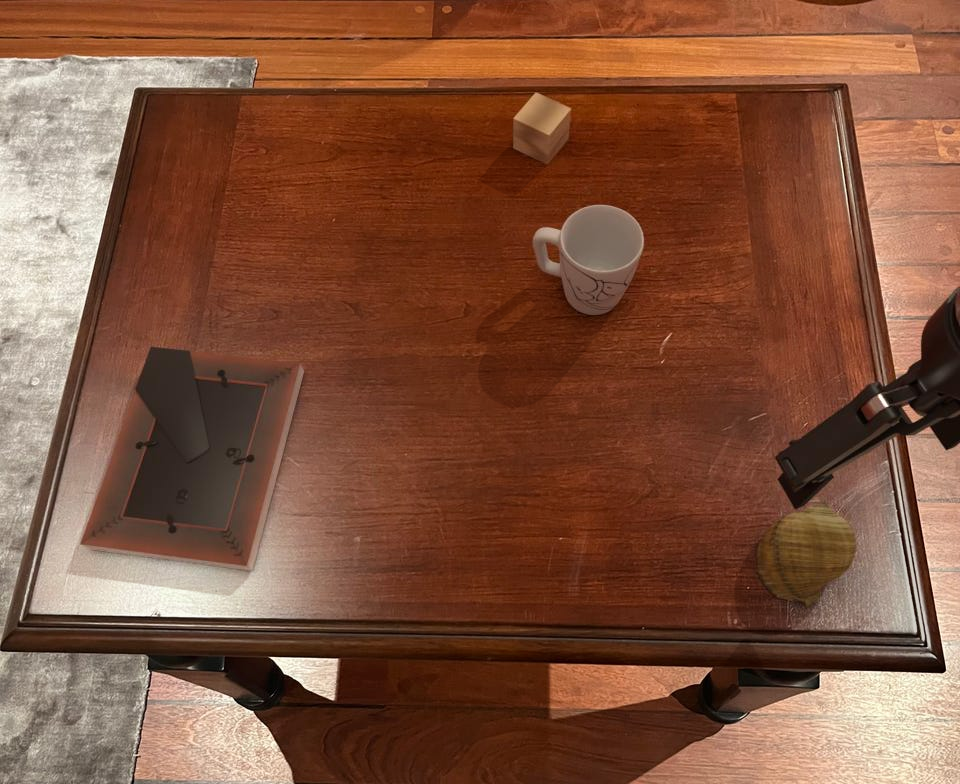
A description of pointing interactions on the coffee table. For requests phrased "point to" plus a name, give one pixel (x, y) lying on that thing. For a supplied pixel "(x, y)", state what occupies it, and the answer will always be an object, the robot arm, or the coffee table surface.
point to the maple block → (541, 128)
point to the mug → (593, 256)
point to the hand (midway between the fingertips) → (865, 463)
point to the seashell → (805, 553)
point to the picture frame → (196, 459)
